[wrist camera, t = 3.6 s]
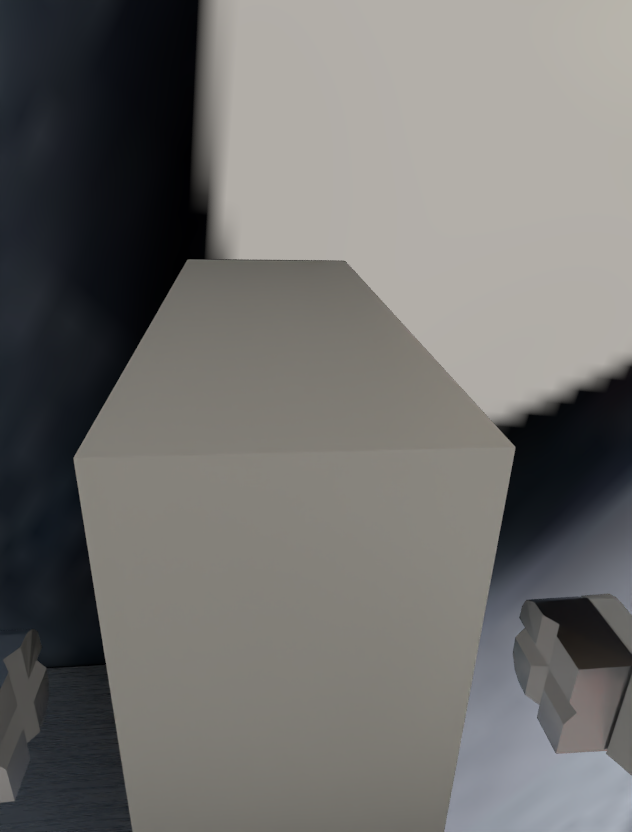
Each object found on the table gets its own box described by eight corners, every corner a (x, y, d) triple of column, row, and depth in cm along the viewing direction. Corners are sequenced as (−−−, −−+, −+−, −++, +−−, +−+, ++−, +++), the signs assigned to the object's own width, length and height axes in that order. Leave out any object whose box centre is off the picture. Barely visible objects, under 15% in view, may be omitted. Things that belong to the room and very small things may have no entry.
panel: (188, 258, 11) (74, 459, 4) (345, 260, 11) (514, 447, 4) (213, 682, 16) (182, 1147, 8) (325, 675, 16) (390, 1116, 9)
